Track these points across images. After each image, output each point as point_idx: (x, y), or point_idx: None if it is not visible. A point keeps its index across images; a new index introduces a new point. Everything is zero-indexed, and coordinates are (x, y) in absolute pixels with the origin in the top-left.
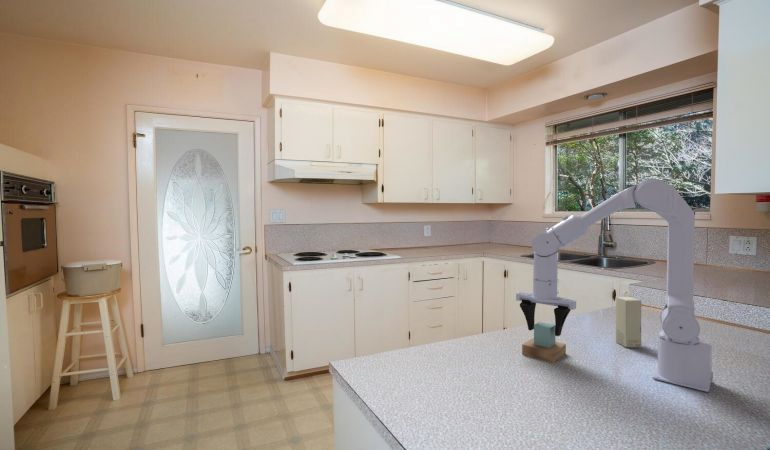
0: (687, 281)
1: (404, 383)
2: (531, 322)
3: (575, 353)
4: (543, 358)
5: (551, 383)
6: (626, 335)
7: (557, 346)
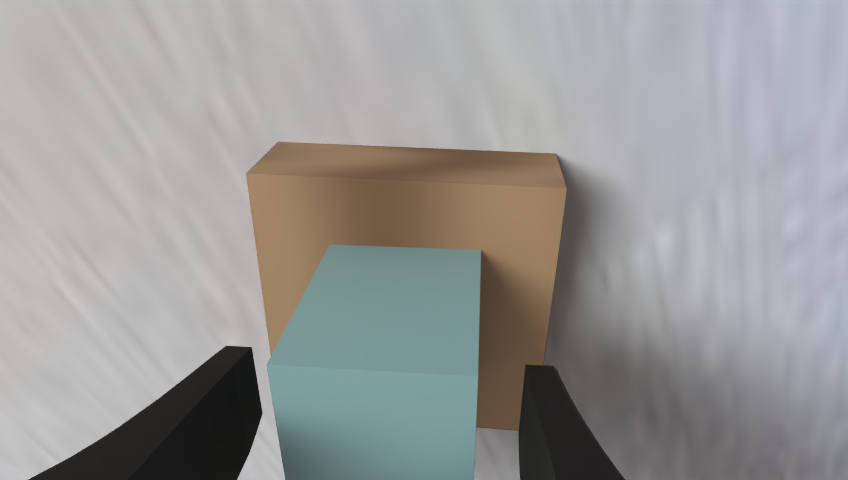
0: None
1: None
2: (222, 459)
3: (630, 78)
4: None
5: None
6: None
7: (517, 301)
